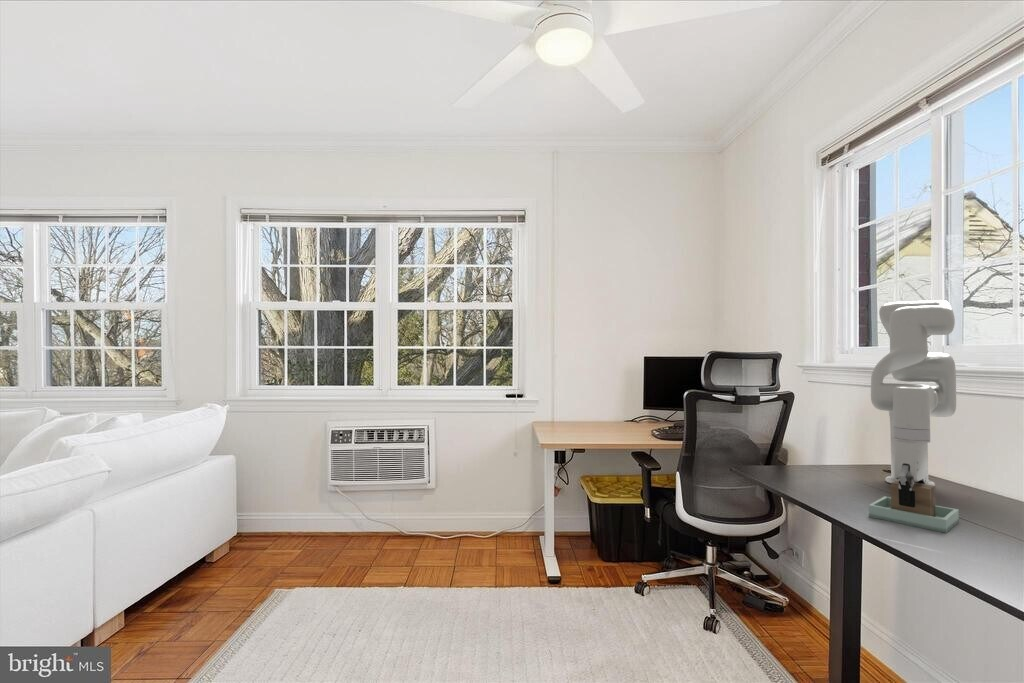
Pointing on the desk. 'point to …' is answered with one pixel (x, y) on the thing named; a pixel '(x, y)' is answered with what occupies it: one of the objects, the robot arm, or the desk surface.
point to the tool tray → (915, 516)
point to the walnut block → (916, 499)
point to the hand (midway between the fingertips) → (912, 502)
